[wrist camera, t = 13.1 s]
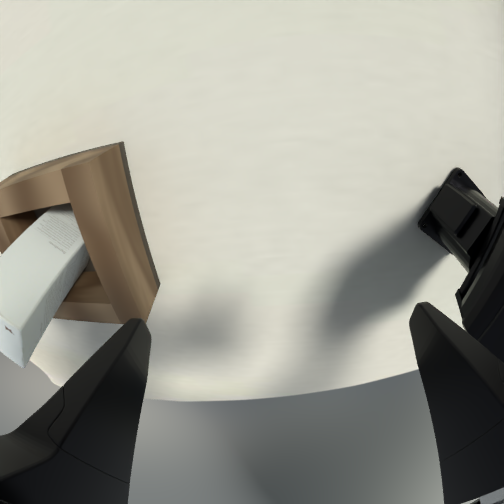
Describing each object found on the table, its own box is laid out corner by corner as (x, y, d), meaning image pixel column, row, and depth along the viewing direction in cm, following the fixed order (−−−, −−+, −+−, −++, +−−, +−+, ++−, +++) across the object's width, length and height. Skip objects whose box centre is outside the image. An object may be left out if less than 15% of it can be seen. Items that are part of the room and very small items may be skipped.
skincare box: (65, 192, 19) (-32, 288, 9) (105, 218, 20) (21, 332, 10) (52, 243, 21) (-19, 338, 11) (87, 266, 23) (26, 371, 13)
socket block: (123, 141, 17) (88, 162, 13) (160, 284, 25) (145, 325, 21) (13, 173, 18) (-22, 197, 14) (57, 284, 25) (36, 315, 21)
